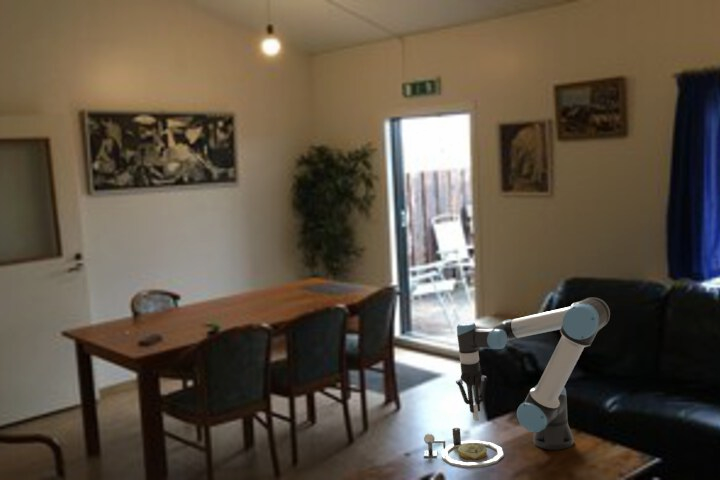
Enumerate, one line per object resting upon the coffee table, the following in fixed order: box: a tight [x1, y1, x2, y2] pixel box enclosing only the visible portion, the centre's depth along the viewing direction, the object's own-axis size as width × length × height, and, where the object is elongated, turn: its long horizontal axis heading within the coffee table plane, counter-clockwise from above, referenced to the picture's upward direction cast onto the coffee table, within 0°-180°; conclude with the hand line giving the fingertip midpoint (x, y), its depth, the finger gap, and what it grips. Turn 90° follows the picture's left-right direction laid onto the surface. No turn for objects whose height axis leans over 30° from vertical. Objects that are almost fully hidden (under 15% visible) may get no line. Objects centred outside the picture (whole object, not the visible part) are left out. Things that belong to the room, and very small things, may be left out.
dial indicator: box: [423, 433, 447, 459], centre depth 284 cm, size 8×5×9 cm, turn 79°
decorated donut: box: [457, 443, 488, 461], centre depth 281 cm, size 10×11×4 cm
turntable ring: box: [441, 427, 505, 469], centre depth 282 cm, size 23×24×7 cm
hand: (476, 419), depth 291 cm, fingers closed
